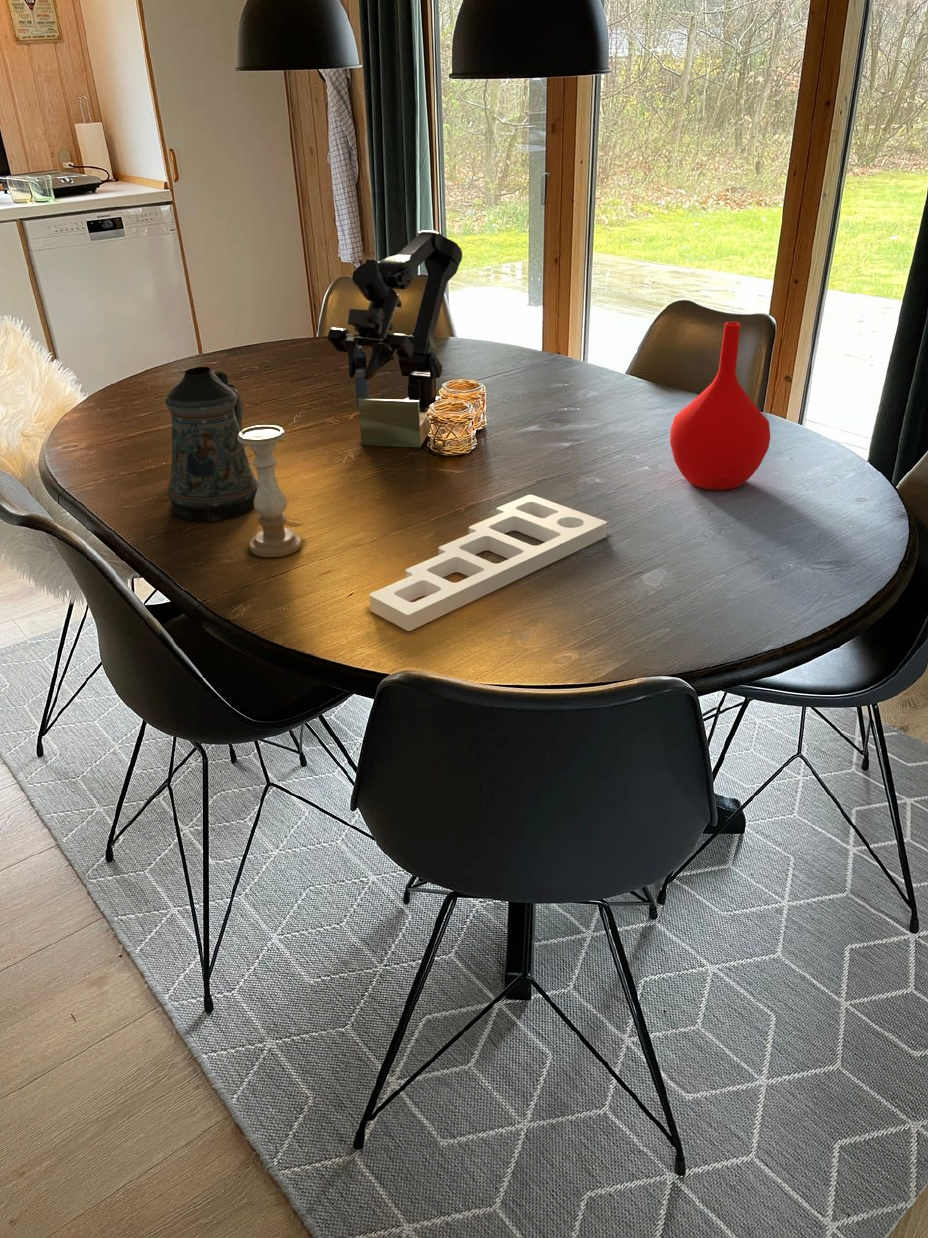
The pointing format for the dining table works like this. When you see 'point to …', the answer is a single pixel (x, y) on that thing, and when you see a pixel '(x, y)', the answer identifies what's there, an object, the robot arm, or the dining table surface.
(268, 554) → the candle holder
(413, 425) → the glossy olive-green box
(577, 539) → the holder
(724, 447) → the vase
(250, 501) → the beer stein
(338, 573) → the dining table surface
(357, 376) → the vaping device
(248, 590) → the dining table surface
